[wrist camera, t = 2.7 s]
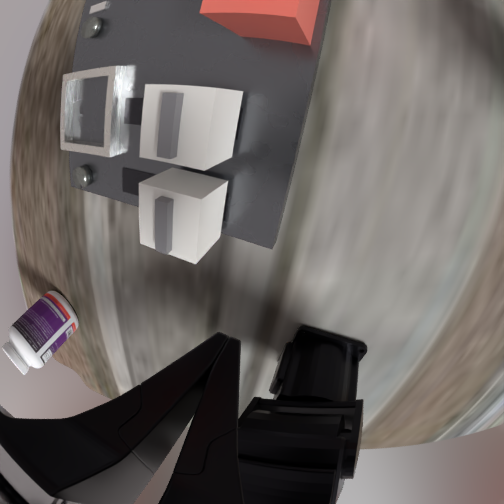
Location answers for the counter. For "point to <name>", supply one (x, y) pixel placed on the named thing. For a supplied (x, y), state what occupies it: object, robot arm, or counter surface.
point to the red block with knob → (265, 18)
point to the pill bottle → (40, 331)
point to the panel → (192, 74)
